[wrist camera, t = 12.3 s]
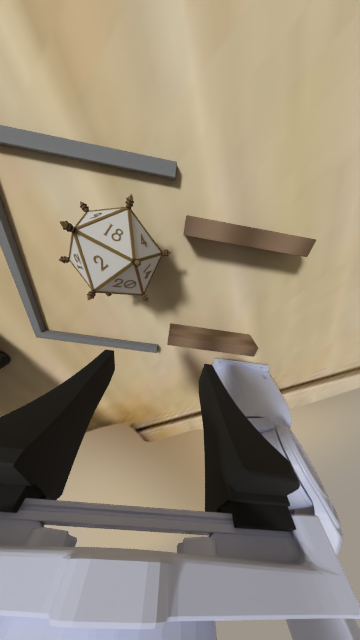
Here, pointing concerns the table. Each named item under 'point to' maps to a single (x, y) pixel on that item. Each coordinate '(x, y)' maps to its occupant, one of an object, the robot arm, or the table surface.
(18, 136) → the frame
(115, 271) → the game die
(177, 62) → the table surface
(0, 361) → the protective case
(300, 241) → the walnut chute
